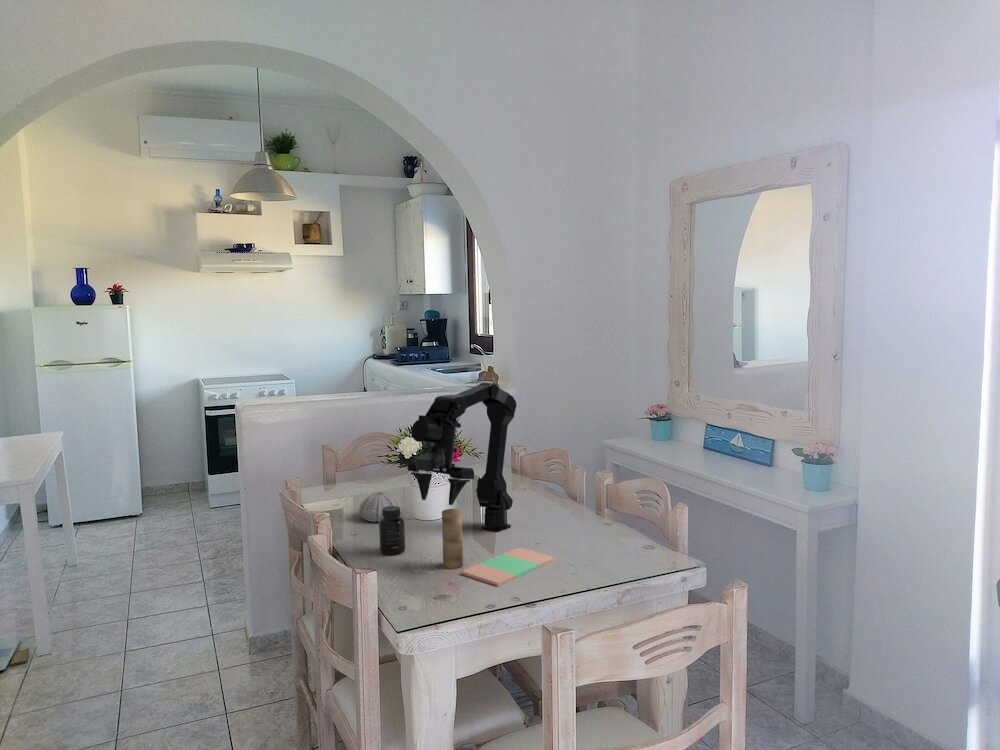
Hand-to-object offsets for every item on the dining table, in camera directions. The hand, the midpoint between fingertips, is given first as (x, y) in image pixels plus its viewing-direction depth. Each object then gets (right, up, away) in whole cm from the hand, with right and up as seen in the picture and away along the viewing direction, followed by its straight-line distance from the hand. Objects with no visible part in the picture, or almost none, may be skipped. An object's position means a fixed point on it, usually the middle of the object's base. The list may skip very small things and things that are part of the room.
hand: (437, 502), depth 192 cm
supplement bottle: (-12, -14, +4) cm, 19 cm away
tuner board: (+19, -15, -9) cm, 26 cm away
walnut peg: (+5, -15, -7) cm, 17 cm away
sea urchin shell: (-21, -11, +35) cm, 42 cm away
